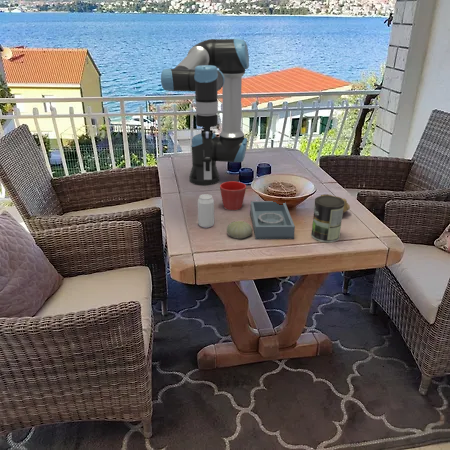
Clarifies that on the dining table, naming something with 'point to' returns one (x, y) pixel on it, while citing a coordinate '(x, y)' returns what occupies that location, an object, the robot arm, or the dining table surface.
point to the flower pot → (232, 194)
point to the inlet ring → (270, 215)
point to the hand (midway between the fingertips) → (207, 173)
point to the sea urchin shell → (239, 229)
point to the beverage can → (205, 211)
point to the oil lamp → (346, 205)
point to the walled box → (271, 231)
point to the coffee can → (327, 218)
